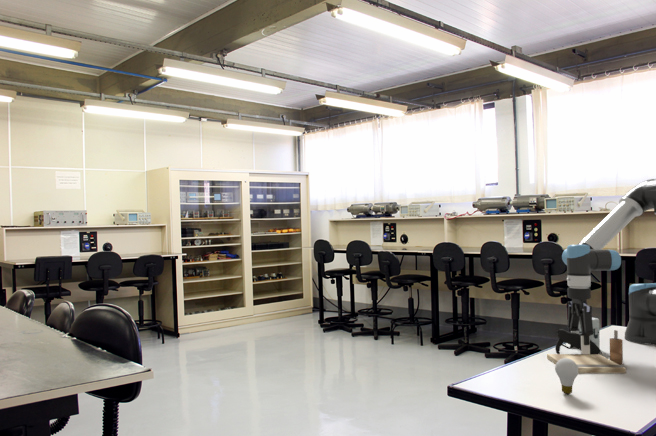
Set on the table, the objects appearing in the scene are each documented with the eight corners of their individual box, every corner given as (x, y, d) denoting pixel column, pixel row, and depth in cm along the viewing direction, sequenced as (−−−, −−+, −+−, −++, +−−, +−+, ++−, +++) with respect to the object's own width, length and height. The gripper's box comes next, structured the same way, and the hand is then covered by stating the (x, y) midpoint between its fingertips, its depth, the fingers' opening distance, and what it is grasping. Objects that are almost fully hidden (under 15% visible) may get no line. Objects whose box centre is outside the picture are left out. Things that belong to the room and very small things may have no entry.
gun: (592, 372, 178) (606, 348, 177) (549, 349, 181) (562, 325, 180) (590, 370, 181) (603, 346, 180) (547, 348, 183) (560, 324, 183)
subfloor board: (599, 358, 175) (599, 354, 175) (625, 373, 158) (625, 368, 158) (547, 358, 176) (547, 353, 176) (568, 372, 159) (567, 367, 159)
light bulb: (558, 389, 143) (558, 354, 143) (581, 393, 140) (580, 358, 140) (552, 395, 139) (552, 359, 139) (575, 399, 135) (575, 362, 135)
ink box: (571, 346, 193) (570, 315, 193) (580, 345, 195) (579, 314, 195) (591, 351, 185) (591, 319, 185) (600, 350, 187) (600, 318, 187)
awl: (619, 361, 172) (618, 329, 172) (625, 364, 168) (624, 331, 168) (607, 361, 172) (607, 329, 172) (613, 364, 168) (613, 331, 168)
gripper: (556, 284, 190) (557, 345, 189) (581, 290, 170) (582, 358, 169) (576, 284, 190) (578, 345, 189) (603, 290, 170) (605, 358, 169)
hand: (580, 351), depth 179 cm, fingers open, 7 cm apart
